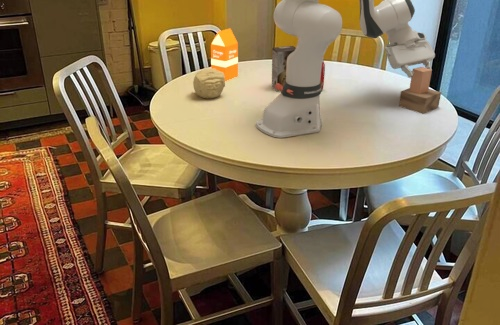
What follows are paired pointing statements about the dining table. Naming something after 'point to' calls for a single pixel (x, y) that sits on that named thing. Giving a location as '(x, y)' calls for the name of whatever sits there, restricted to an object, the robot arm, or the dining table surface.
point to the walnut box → (420, 100)
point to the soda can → (322, 74)
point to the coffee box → (280, 64)
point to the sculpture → (209, 83)
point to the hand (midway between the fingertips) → (420, 74)
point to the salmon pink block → (420, 80)
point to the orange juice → (225, 54)
